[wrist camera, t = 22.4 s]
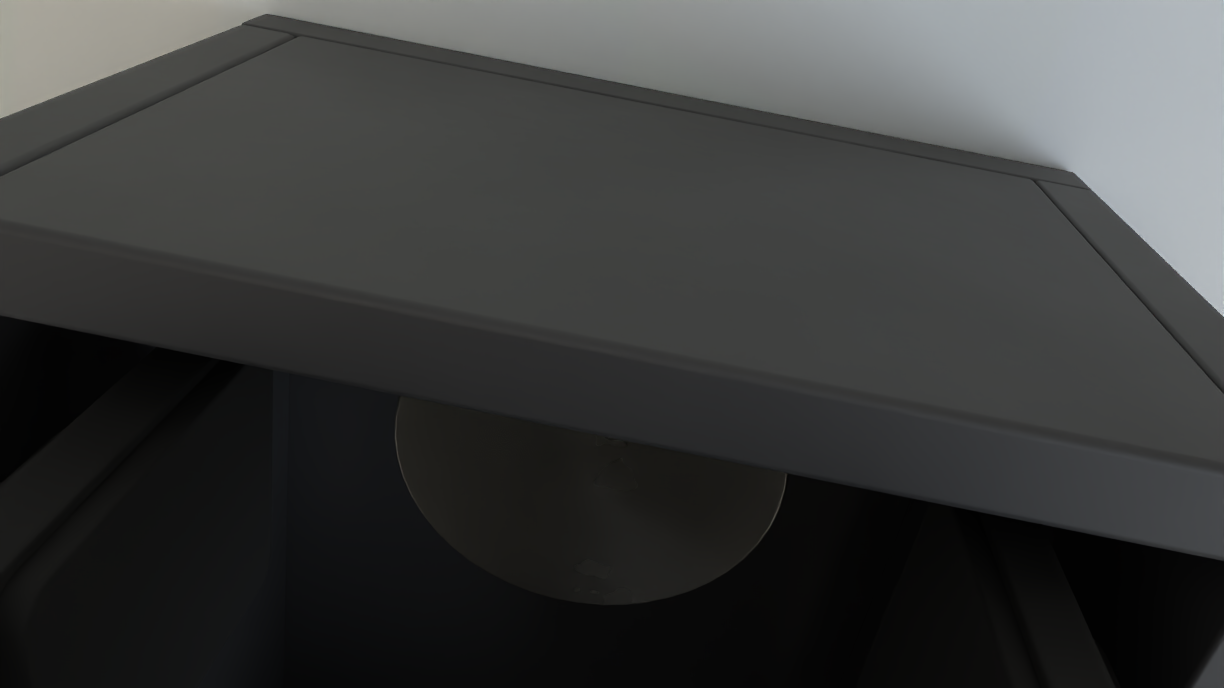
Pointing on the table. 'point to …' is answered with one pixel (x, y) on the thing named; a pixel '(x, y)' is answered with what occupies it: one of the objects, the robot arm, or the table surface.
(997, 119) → the table surface
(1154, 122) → the table surface
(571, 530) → the coffee pod
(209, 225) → the black open box
